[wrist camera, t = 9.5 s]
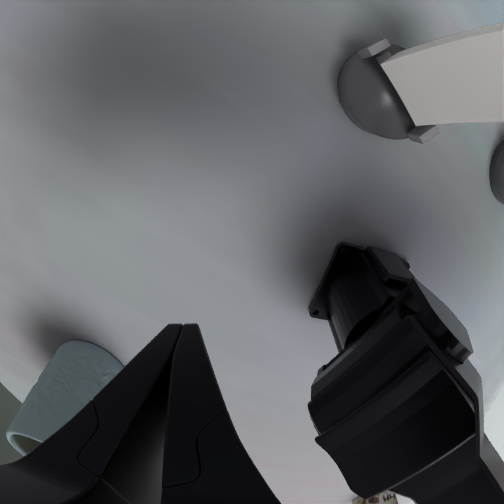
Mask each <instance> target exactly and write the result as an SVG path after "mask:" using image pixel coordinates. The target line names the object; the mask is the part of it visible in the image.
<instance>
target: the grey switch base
mask: <svg viewBox="0 0 504 504" xmlns="http://www.w3.org/2000/svg"><path fill="white" fill-rule="evenodd" d="M403 50H406V49H404V48H402V47H399V46H396V45H391V44H390V43H389V42H388V40H387V39H386V38H385V39H382V40H380V41H377V42H375V43H373V44H371V45H369V46H367V47H365V48H364V49H362V50H360V51H358V52H357V53H355V54H353V55H352V56H351V57H350V58H349V59H348V60H347V61H346V62H345V63H344V65H343V67H342V68H341V71H340V74H339V78H338V95H339V99H340V103H341V105H342V107H343V109H344V111H345V113H346V114H347V116H348V117H349V118H350V120H351V121H352V122H353V123H354V124H356V125H357V126H358V127H359V128H361V129H362V130H364V131H366V132H368V133H371V134H375V135H378V136H381V137H384V138H388V139H405V138H409V139H410V140H412V141H415V142H418V143H421V144H424V143H425V142H427V141H428V140H430V139H431V138H433V137H434V136H435V135H437V134H438V133H439V131H438V129H437V127H436V125H422V126H415V124H414V122H413V120H412V118H411V116H410V114H409V113H408V111H407V109H406V107H405V105H404V104H403V102H402V100H401V98H400V96H399V95H398V93H397V91H396V90H395V88H394V86H393V85H392V83H391V81H390V80H389V78H388V76H387V75H386V73H385V72H384V70H383V69H382V67H381V65H380V64H379V62H378V61H377V59H376V58H377V57H378V56H380V55H382V54H384V53H386V52H389V53H390V54H391V56H393V55H395V54H396V53H398V52H400V51H403Z"/></svg>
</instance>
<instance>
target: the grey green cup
mask: <svg viewBox="0 0 504 504" xmlns="http://www.w3.org/2000/svg"><path fill="white" fill-rule="evenodd" d="M123 368H124V367H123V366H122V364H121V363H120V362H119V361H118V360H117V359H116V358H115V357H113V356H112V354H110V353H109V352H107V351H106V350H104V349H103V348H101V347H99V346H97V345H94V344H92V343H89V342H85V341H80V340H71V341H67V342H65V343H63V344H62V345H61V346H60V347H59V348H58V349H57V351H56V352H55V354H54V356H53V357H52V359H51V360H50V362H49V363H48V364H47V366H46V367H45V369H44V370H43V372H42V373H41V375H40V376H39V379H38V382H37V383H36V384H35V385H34V386H33V388H32V389H31V391H30V392H29V394H28V396H27V397H26V399H25V401H24V403H23V404H22V406H21V408H20V410H19V412H18V413H17V415H16V417H15V418H14V420H13V422H12V424H11V425H10V427H9V429H8V431H7V433H6V436H7V439H8V441H9V442H10V444H11V445H12V446H13V447H14V448H15V449H16V450H17V451H18V452H19V453H21V454H22V455H23V456H25V455H27V454H28V453H29V452H31V451H32V450H33V449H34V448H36V447H37V446H38V445H40V444H41V443H42V442H43V441H45V440H46V439H47V438H49V437H50V436H51V435H52V434H54V433H55V432H56V431H57V430H59V429H60V428H61V427H62V426H63V425H64V424H66V423H67V422H68V421H69V420H70V419H71V418H73V417H74V416H75V415H76V414H77V413H78V412H79V411H80V410H81V409H82V408H83V407H84V406H85V405H86V404H87V403H88V402H89V401H90V400H93V397H94V396H95V395H96V394H97V393H99V392H100V391H101V390H102V389H103V388H104V387H105V386H106V385H107V384H108V383H109V382H110V381H111V380H112V379H113V378H114V377H115V376H116V375H117V374H118V373H119V372H120V371H121V370H122V369H123Z"/></svg>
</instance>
